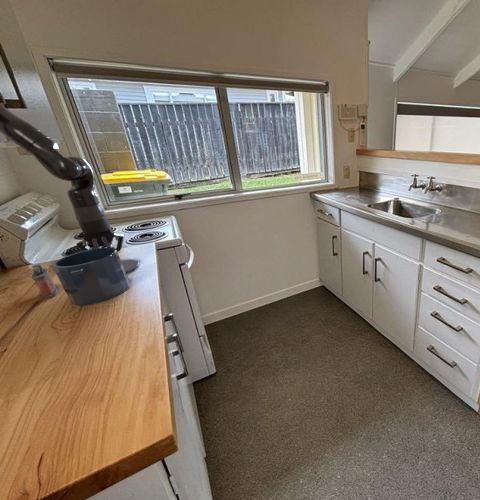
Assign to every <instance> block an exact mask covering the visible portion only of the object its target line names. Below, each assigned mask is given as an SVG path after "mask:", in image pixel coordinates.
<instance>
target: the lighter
mask: <svg viewBox="0 0 480 500" xmlns="http://www.w3.org/2000/svg"><path fill="white" fill-rule="evenodd" d="M31 268H32V274H31V279H32V280H33V281H34V284H35V285H36V287H37V288H38V290H39V292H40V293H41V297H42V299H43V300H49V299H52V298H55V297H56V296H57V294H58V292H59V289H58V287H57V286H56V285H55V283H54V281H53V280H52V277H51V276H50V274H49V270H48V269H47V268H43V266H42V264H41V263H37V264H35V265H32V267H31Z"/></svg>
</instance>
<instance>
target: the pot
mask: <svg viewBox="0 0 480 500" xmlns="http://www.w3.org/2000/svg"><path fill="white" fill-rule="evenodd" d="M115 248H116V247H115ZM115 248H107V247H102V248H96V249H94V248H91V250H86V251H83V250H82V251H78V252H75V253H72V254H69V255H66V256H63V257H61V258H58V259H57V260H55V261H54V262H52V264H51V266H52V268H53V270H54V272H55V274H56V276H57V278H58V280H59V282H60V284H61V286H62V288H63V290H64V292H65V293H66V295H67V296H66V297H68V300H69V301H70V304H72V305H73V306H80V307H83V306H91V305H97V304H99V303H103V302H106V301H109V300H111V299H114V298H117V297H118V296H120V295H122V294H124V293H125V292H126V291H128V290H129V288H130V287H131V283H130V280H129V278H128V277H129V276H128V274H127V273H126V272H125V270H124V267H123V265H122V262H121V261H122V260H121V258H120V255H119V251H118V252H117V250H116V249H115Z"/></svg>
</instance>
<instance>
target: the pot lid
mask: <svg viewBox="0 0 480 500" xmlns="http://www.w3.org/2000/svg"><path fill="white" fill-rule="evenodd" d="M121 262H122V265H123V267H124V270H125V272H126V274H127V273H129V272H131V271H133V270H135V269H136V268H138V266H139V265H140V262H139V261H138V260H136V259H122V260H121Z"/></svg>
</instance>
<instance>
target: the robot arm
mask: <svg viewBox="0 0 480 500" xmlns="http://www.w3.org/2000/svg"><path fill="white" fill-rule="evenodd" d="M0 133H1V134H2V135H3V136H5V138H7V139H9V140H10V141H11V142H13V143H14V144H15V145H17V146H18V147H19V148H21V149H22V150H24V151H25V152H26V153H29V155H31V156H33V157H34V158H35V159H36V161H37V162H38V163H39V164H40V165H41V167H43V168H44V169H45V170H46V171H47V172H48V173H49V174H50V175H52V176H53V177H55V178H56V179H58V180H61V181H65V182H70V186H71V187H70V188H69V189H68V190H67V192H66V195H67V198H68V200H69V202H70V204H71V206H72V209H73V213H74V216H75V219H76V221H77V223H78V225H79V227H80V230H81V232H82V234H83V239H82V240H79V241H78V242H77V243H76V244H75V245H76V247H78V248H79V249H80V250H82V251H86V250H91V249H92V247H90V246H89V245H91V246H93V249H96V248H103V247H105V248H115V249H116V250H117V252H118V253H119V252H120V251H121V250H122V249H123V244H124V240H125V235H124V234H123V233H121V234H119V233H118V234H117V233H115V231H113V229H112V227H111V224H110V223H109V220H108V218H107V214H106V212H105V210H104V208H103V206H102V204H101V203H100V199H99V197H98V194H97V193H96V188H95V186H96V185H95V177H94V176H95V175H94V172H93V169H92V167H91V165H90V164H89V163H88V161H86V159H84V158H82V157H80V156H64V155H62V154H61V152H59V149H60V148H59V145H58V144H57V143H56V142H55V141H54V140H52V138H51V137H49V136H48V135H46V134H45V133H43V132H42V131H41V130H39V129H38V128H36V127H35V126H33V124H31V123H29V122H28V121H26V120H25V119H23V118H21V117H19V116H17V115H16V114H14V113H13V112H11V111H10V110H8V109H7V108H6V107H4V106H3V105H1V104H0ZM114 238H115V240H116V241H117V243H116V247H115V246H114V243H113V240H114Z"/></svg>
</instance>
